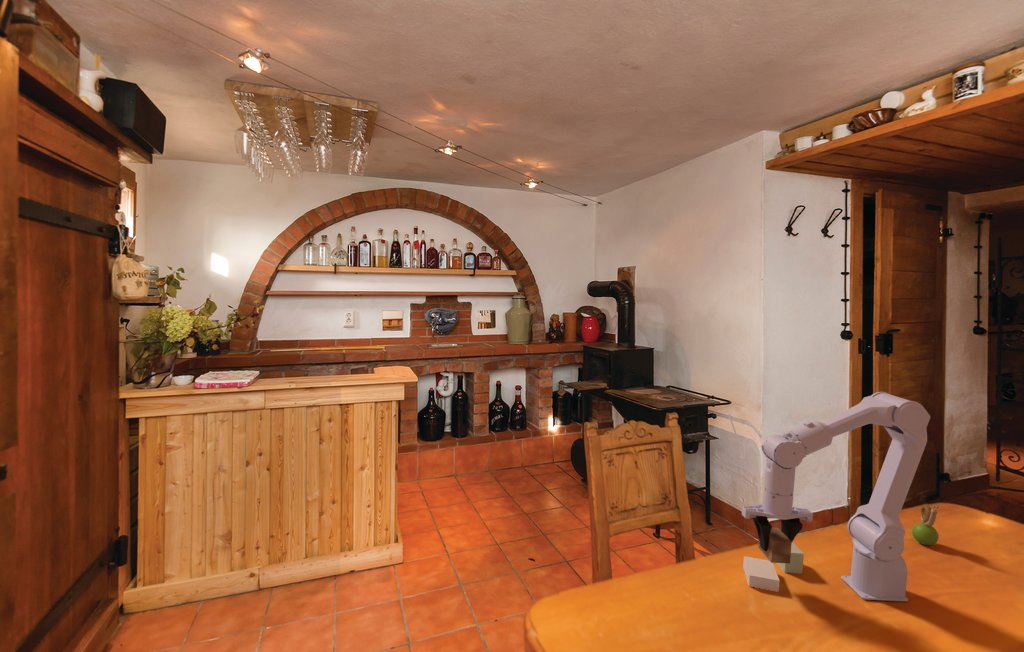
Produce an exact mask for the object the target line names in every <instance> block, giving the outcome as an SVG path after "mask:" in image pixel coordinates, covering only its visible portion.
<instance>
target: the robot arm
mask: <svg viewBox="0 0 1024 652" xmlns="http://www.w3.org/2000/svg"><path fill="white" fill-rule="evenodd" d="M930 420H931V415H930V414H929V412H928V411H927V409H925V407H924V406H923V404H921V403H920V402H918V401H914V400H909V399H906V398H903V397H900V396H896V395H893V394H891V393H888V392H886V391H877V392H874V393H873V394H871V395H868V396H865V397H863V398H862V400H861V401H860V402H859V403H857V404H855V405H854V406H852V407H850V408H848V409H846V410H844V411H842V412H840V413H838V414H837V415H834V416H833V417H832V418H829V419H828V420H826V421H824V422H820V421H818V420H812V421H810V420H806V421H804V422H803V425H802V426H799V427H797V428H795V429H792V430H790V431H786V430H785V432H783V434H782V435H780V434H772V435H770V436H769V437H768V438H766V440H765V441H764V444H761V451H762V453H763V455H764V456H765V458H766V459H765V468H764V469H765V471H764V485H763V499H762V503H761V504H756V505H755V504H754V505H747V506H746V505H744V506H743V505H742V506H741V516H742V517H743V518H745V519H746V520H747V519H748V520H749V519H752V521H753V523H754V526H755V529H756V532H757V536H758V542H759V541H760V547H761V548H762V549H763V550H764V551H767V550H768V543H769V535H770V531H771V529H772V527H773V525H771V523H769V522H770V521H769V520H768V519H777V520H780V528H781V529H780V530H781V531H782V532H783V533H784V534H785V535H786V536H787V537H788V538H789V539H790V540H791V541H792V542H793V541H795V538H796V537H797V535H798V534H799V533H800V531H802V530H803V523H802V522H801V521H800V520H804V521H806V522H813V517H814V513H813V512H812V511H811V510H809V508H801V507H795V506H793V504H794V494H795V493H794V491H795V479H796V468H797V467H799V465H800V464H801V463H802V461H803V459H804V458H806V457H807V456H808V455H810V454H814V453H815V452H817V451H820V450H822V449H824V448H826V447H829V446H831V445H832V442H833V438H834V437H837V436H839V435H842V434H845V433H847V432H850V431H853V430H856V429H858V428H861V427H863V426H866V425H869V424H870V425H871V424H872V425H875V426H876V425H877V426H881V427H884V429H885V430H886V432H887V433H888V435H889V436H890V438H891V442H890V445H889V448H888V450H887V453H886V455H885V458H884V461H883V464H882V467H881V469H880V471H879V475H878V477H877V480H876V482H875V485H874V488H873V491H872V494H871V497H870V499H869V502H868V503H867V504H862V505H860V506H858V507H857V509H856V511H855V513H854V514H853V516H851V517H850V518H849V520H848V522H847V525H846V527H847V531H848V533H849V535H850V536H851V537H852V543H853V544H852V545H853V546H852V547H853V548H852V557H851V559H852V560H851V568H850V569H851V570H850V575H841V577H840V578H841V579H842V581H844V582H845V583H846V584H847V585H848V586H849V587H850V588H851V589H852V590H853V591H854V592H855V593H856V595H858V596H859V597H860V598H862V600H868V601H869V600H870V601H871V600H872V601H891V602H908V601H909V599H908V598H907V597H906V595H907V594H906V593H907V592H906V591H907V582H908V573H909V572H908V566H907V563H906V561H905V559H904V558H903V556H902V554H903V553H904V549H905V541H904V540H905V539H904V538H905V535H906V529H905V527H904V526H903V523H902V521H901V519H900V514H901V512H902V509H903V506H904V503H905V501H906V499H907V495H908V492H909V490H910V489H911V488H910V487H911V485H912V483H913V480H914V478H915V474H916V472H917V469H918V466H919V464H920V461H921V458H922V456H923V453H924V451H925V449H926V446H927V444H928V431H927V430H928V429H927V428H928V424H929V422H930ZM793 543H794V542H793Z"/></svg>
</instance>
